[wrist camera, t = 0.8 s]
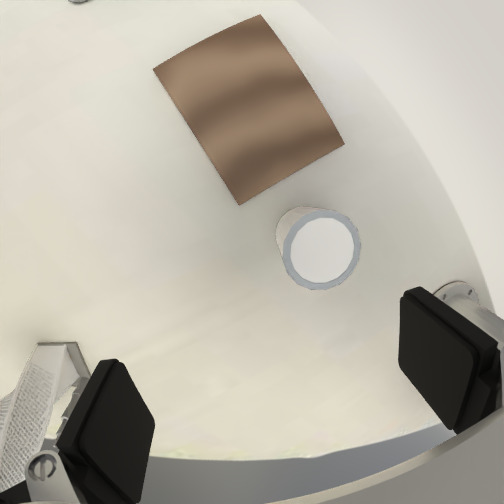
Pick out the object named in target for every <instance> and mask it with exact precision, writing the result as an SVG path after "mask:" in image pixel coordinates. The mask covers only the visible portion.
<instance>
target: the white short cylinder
mask: <svg viewBox="0 0 504 504" xmlns="http://www.w3.org/2000/svg"><path fill="white" fill-rule="evenodd" d="M276 241H277V244H278V247H279V250H280V253H281V256H282V259H283V262H284V265H285V268H286V271H287V273H288V274H289V275H290V277H291V278H292V279H293V280H294V281H295V282H296V283H297V284H299V285H301V286H303V287H306V288H308V289H311V290H326V289H329V288H331V287H334V286H336V285H339V284H341V283H342V282H343V281H344V280H345V279H346V278H347V277H348V276H349V275H350V274H351V273H352V272H353V270H354V268H355V266H356V264H357V262H358V260H359V255H360V248H361V242H360V238H359V234H358V230H357V229H356V227H355V226H354V225H353V223H352V222H351V221H350V219H349V218H348V217H346V216H344V215H342V214H340V213H339V212H337V211H334V210H327V209H320V208H313V207H300V206H299V207H296V208H294V209H291V210H289V211H288V212H287V213H285V214H284V215H283V216H282V217H281V219H280V221H279V223H278V225H277V227H276Z"/></svg>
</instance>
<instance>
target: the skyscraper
mask: <svg viewBox="0 0 504 504" xmlns="http://www.w3.org/2000/svg"><path fill="white" fill-rule="evenodd" d="M90 377H91V375H90V372H89V370H88V368H87V366H86V363H85V361H84V359H83V357H82V354H81V352H80V349H79V347H78V345H77V342H65V343H37V344H36V346H35V348H34V349H33V351H32V353H31V355H30V357H29V359H28V361H27V363H26V365H25V368H24V370H23V372H22V374H21V377H20V379H19V381H18V384H17V386H16V388H15V389H14V390H13V392H11V393H10V394H8V395H6V396H5V397H3V398H2V399H0V493H1V492H3V491H5V490H7V489H9V488H11V487H13V486H14V485H16V484H18V483H20V482H22V481H24V480H26V479H25V473H24V470H25V466H26V464H27V462H28V460H29V459H30V458H31V457H32V456H33V455H35V454H36V453H38V452H39V451H40V449H41V446H42V443H43V440H44V437H45V434H46V431H47V427H48V424H49V421H50V417H51V413H52V410H53V406H54V404H55V403H56V402H57V401H58V400H59V399H60V398H61V397H62V396H63V394H64V393H65V392H66V391H67V390H68V389H69V388H70V387H71V386H77V388H76V389H75V391H74V392H73V393H72V400H71V402H70V403H69V405H68V407H67V408H66V410H65V411H64V413H63V415H62V416H61V420H62V421H63V422H62V424H61V426H60V428H59V430H58V431H57V433H56V435H57V438H56V440H55V442H54V444H53V446H54V447H56V443H57V441H58V439H59V437H60V435H61V433H62V431H63V429H64V427H65V425H66V423H67V421H68V419H69V417H70V415H71V413H72V411H73V409H74V407H75V405H76V403H77V401H78V400H79V398H80V396H81V394H82V392H83V390H84V388H85V387H86V385H87V383H88V381H89V379H90Z"/></svg>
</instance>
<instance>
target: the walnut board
mask: <svg viewBox="0 0 504 504" xmlns="http://www.w3.org/2000/svg"><path fill="white" fill-rule="evenodd" d="M153 71H154V72H155V74H156V75H157V77H158V78H159V80H160V82H161V83H162V85H163V86H164V88H165V89H166V91H167V92H168V94H169V96H170V97H171V99H172V100H173V102H174V103H175V105H176V106H177V108H178V110H179V111H180V113H181V114H182V116H183V117H184V119H185V121H186V122H187V124H188V125H189V127H190V128H191V130H192V132H193V133H194V135H195V136H196V138H197V139H198V141H199V143H200V144H201V146H202V147H203V149H204V150H205V152H206V154H207V155H208V157H209V158H210V160H211V162H212V163H213V165H214V166H215V168H216V170H217V171H218V173H219V174H220V176H221V177H222V179H223V181H224V182H225V184H226V185H227V187H228V189H229V190H230V192H231V193H232V195H233V197H234V198H235V200H236V202H237V203H238V205H241V204H243V203H244V202H246V201H248V200H249V199H251V198H253V197H254V196H256V195H257V194H259V193H261V192H262V191H264V190H266V189H267V188H269V187H271V186H273V185H274V184H276V183H278V182H279V181H281V180H283V179H284V178H286V177H288V176H290V175H291V174H293V173H295V172H296V171H298V170H300V169H302V168H303V167H305V166H307V165H309V164H310V163H312V162H314V161H316V160H317V159H319V158H321V157H323V156H324V155H326V154H328V153H330V152H332V151H333V150H335V149H337V148H339V147H341V146H342V145H344V144H345V143H344V142H343V140H342V138H341V136H340V134H339V132H338V131H337V129H336V127H335V125H334V123H333V122H332V120H331V118H330V116H329V115H328V113H327V111H326V110H325V108H324V106H323V105H322V103H321V101H320V100H319V98H318V96H317V95H316V93H315V92H314V90H313V88H312V87H311V85H310V84H309V82H308V80H307V79H306V77H305V76H304V74H303V73H302V71H301V70H300V68H299V67H298V65H297V64H296V62H295V61H294V59H293V58H292V56H291V55H290V54H289V52H288V51H287V49H286V48H285V46H284V45H283V44H282V42H281V41H280V40H279V38H278V37H277V35H276V34H275V33H274V31H273V30H272V29H271V27H270V26H269V25H268V23H267V22H266V21H265V20H264V18H263V17H262V16H261V14H260V15H257V16H255V17H252V18H250V19H247V20H245V21H243V22H240V23H238V24H236V25H234V26H231V27H229V28H227V29H225V30H223V31H221V32H219V33H216V34H214V35H212V36H210V37H208V38H206V39H204V40H202V41H201V42H199V43H197V44H195V45H193V46H191V47H189V48H187V49H186V50H184V51H182V52H180V53H179V54H177V55H175V56H173V57H172V58H170V59H168V60H167V61H165V62H163V63H162V64H160V65H158V66H157V67H155V68H154V69H153Z"/></svg>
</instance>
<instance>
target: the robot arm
mask: <svg viewBox="0 0 504 504" xmlns="http://www.w3.org/2000/svg"><path fill="white" fill-rule="evenodd" d="M398 362H399V366H400V368H401V370H402V371H403V372H404V374H405V375H406V376H407V377H408V379H409V380H410V381H411V382H412V384H413V385H414V386H415V388H416V389H417V390H418V391H419V393H420V394H421V395H422V396H423V398H424V399H425V400H426V401H427V403H428V404H429V405H430V407H431V408H432V409H433V410H434V412H435V413H436V414H437V416H438V417H439V418H440V420H441V421H442V422H443V424H444V425H445V426H446V427H447V428H448V429H449V430H452V429H453V430H454V432H455V433H456V434H457V435H456V436H454V437H453V438H451V439H449V440H447V441H445V442H443V443H442V444H440V445H438V446H436V447H434V448H432V449H430V450H428V451H426V452H424V453H422V454H420V455H418V456H416V457H414V458H412V459H410V460H407V461H405V462H403V463H401V464H398V465H396V466H394V467H391V468H389V469H387V470H384V471H381V472H379V473H376V474H374V475H371V476H368V477H366V478H363V479H360V480H357V481H354V482H351V483H348V484H345V485H342V486H339V487H335V488H332V489H328V490H325V491H321V492H318V493H314V494H310V495H306V496H301V497H297V498H293V499H289V500H284V501H278V502H272V503H267V504H504V320H503V319H501V318H500V317H498V316H497V315H495V314H494V313H492V312H491V311H489V310H487V309H486V308H484V307H483V306H481V305H480V304H478V297H477V294H476V292H475V290H474V289H473V288H472V287H471V286H470V285H468V284H466V283H464V282H454V283H450V284H448V285H446V286H444V287H443V288H441V289H440V290H439V291H437V292H436V293H435V294H434V295H433V294H431V293H430V292H428V291H427V290H425V289H424V288H422V287H416V288H413V289H410V290H407V291H405V292H404V295H403V297H401V299H400V334H399V355H398ZM154 429H155V421H154V418H153V416H152V414H151V413H150V411H149V409H148V408H147V406H146V404H145V402H144V401H143V399H142V397H141V395H140V393H139V392H138V390H137V388H136V386H135V384H134V382H133V381H132V379H131V377H130V375H129V373H128V371H127V369H126V367H125V365H124V364H123V363H122V362H119V361H118V360H117V359H108V360H101V361H100V362H99V363H98V365H97V367H96V368H95V370H94V372H93V374H92V376H91V377H90V379H89V381H88V383H87V385H86V387H85V388H84V390H83V392H82V394H81V396H80V398H79V400H78V401H77V403H76V405H75V407H74V409H73V411H72V413H71V415H70V417H69V419H68V421H67V423H66V425H65V427H64V429H63V431H62V433H61V435H60V437H59V439H58V441H57V443H56V446H57V447H58V448H59V450H60V451H59V453H58V454H57V453H55V452H54V451H50V450H45V451H40V452H38V453H36V454H35V455H33V456H32V457H31V458H30V459H29V460H28V462H27V464H26V466H25V470H24V473H25V479H26V480H24V481H22V482H20V483H18V484H16V485H14V486H13V487H11V488H9V489H7V490H5V491H3V492H1V493H0V504H136V503H139V502H140V500H141V494H142V489H143V483H144V478H145V473H146V467H147V462H148V457H149V452H150V447H151V443H152V438H153V433H154Z"/></svg>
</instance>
